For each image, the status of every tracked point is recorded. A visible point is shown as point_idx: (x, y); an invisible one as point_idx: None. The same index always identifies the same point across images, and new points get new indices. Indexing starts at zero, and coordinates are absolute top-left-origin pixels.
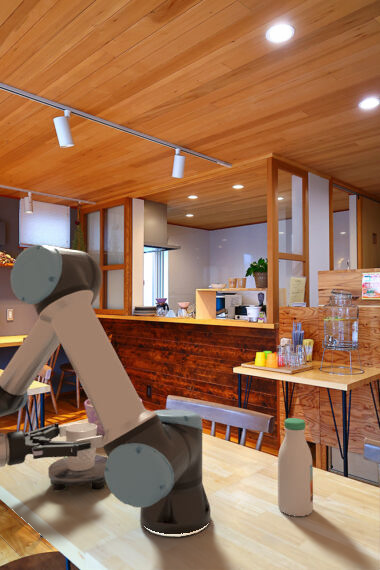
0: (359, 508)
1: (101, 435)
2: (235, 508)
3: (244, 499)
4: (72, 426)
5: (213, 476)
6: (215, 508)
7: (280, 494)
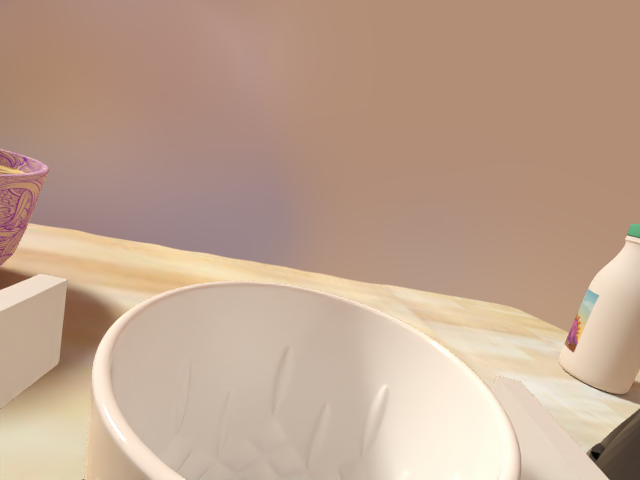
0: None
1: (502, 377)
2: (596, 424)
3: (547, 391)
4: (112, 372)
5: None
6: None
7: (619, 364)
